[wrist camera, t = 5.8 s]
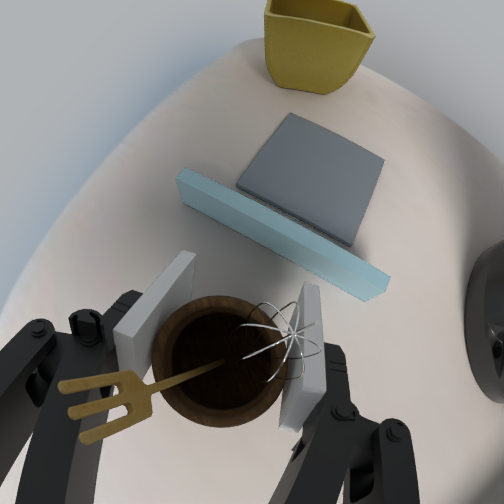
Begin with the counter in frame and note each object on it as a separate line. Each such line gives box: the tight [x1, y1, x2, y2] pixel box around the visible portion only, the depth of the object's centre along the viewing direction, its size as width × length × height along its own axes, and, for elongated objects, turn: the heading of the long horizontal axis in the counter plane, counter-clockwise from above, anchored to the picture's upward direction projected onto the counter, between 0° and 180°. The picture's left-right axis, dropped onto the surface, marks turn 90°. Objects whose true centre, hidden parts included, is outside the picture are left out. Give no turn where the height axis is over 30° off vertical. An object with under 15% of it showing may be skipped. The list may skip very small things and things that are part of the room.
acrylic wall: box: [176, 167, 391, 302], centre depth 18 cm, size 14×1×3 cm, turn 60°
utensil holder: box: [58, 296, 321, 445], centre depth 11 cm, size 6×6×12 cm
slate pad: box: [236, 113, 384, 247], centre depth 21 cm, size 9×9×1 cm
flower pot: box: [264, 0, 375, 95], centre depth 21 cm, size 9×9×9 cm
